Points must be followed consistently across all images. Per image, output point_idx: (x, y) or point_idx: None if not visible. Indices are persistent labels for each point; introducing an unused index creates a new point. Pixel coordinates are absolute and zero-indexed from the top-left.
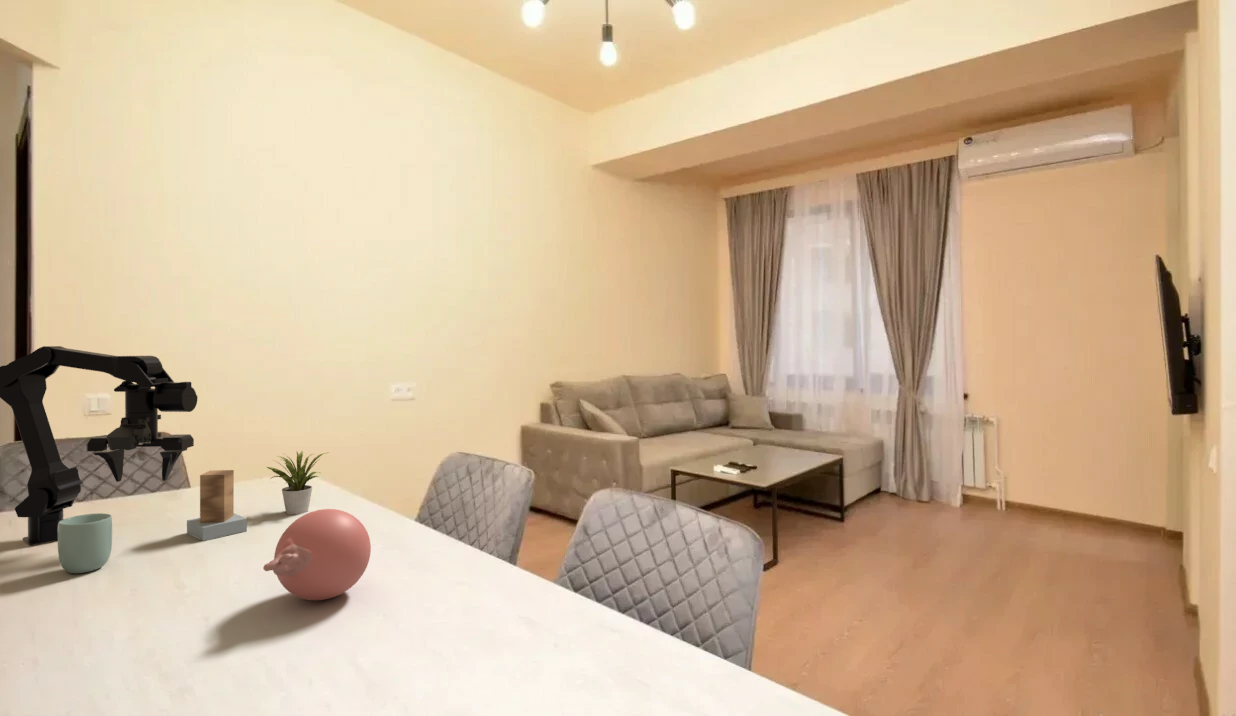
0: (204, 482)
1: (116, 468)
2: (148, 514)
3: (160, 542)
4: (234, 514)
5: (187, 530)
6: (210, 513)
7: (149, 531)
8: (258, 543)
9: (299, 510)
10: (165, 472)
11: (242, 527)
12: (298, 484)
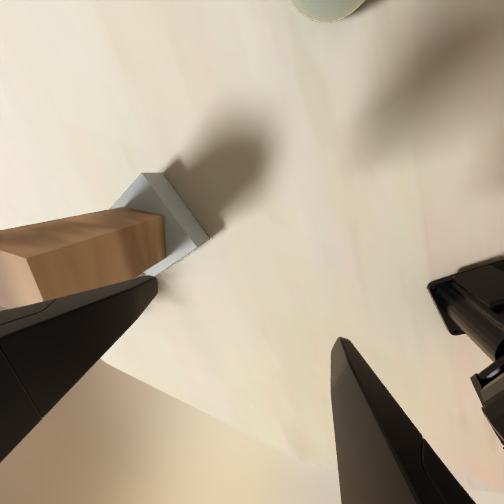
0: (51, 243)
1: (367, 417)
2: (308, 375)
3: (234, 190)
4: None
5: (205, 238)
6: (130, 215)
7: (277, 275)
8: (68, 124)
9: None
10: (105, 287)
11: None
12: None
